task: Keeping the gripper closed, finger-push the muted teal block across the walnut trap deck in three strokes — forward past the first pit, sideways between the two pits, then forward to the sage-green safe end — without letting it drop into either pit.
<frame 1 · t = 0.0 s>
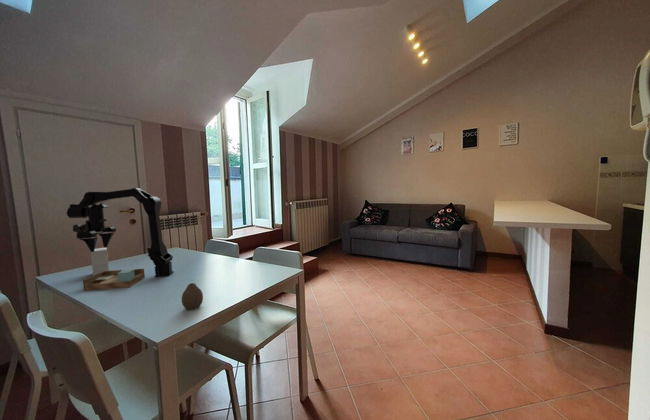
hand: (99, 249, 127), 15 cm above the table, tool pointing down, fingers open, 9 cm apart
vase: (193, 308, 95), on the table
small box: (101, 274, 136), on the table
trap deck: (116, 283, 121), on the table
block: (126, 279, 119), point 2 cm above the table, touching trap deck
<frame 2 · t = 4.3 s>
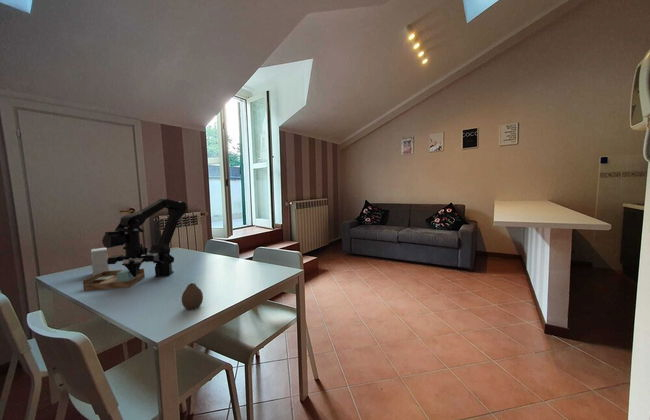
hand: (135, 276, 119), 4 cm above the table, tool pointing down, fingers closed
block: (125, 279, 119), point 3 cm above the table, touching gripper
everything else where it was.
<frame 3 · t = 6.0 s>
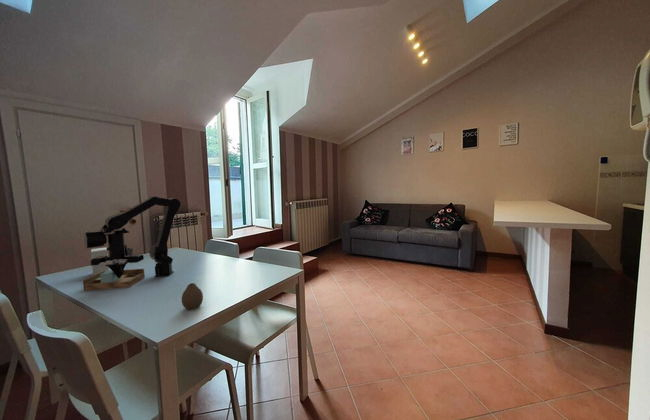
hand: (119, 277, 118), 4 cm above the table, tool pointing down, fingers closed
block: (109, 280, 118), point 2 cm above the table, touching gripper, trap deck
everything else where it was.
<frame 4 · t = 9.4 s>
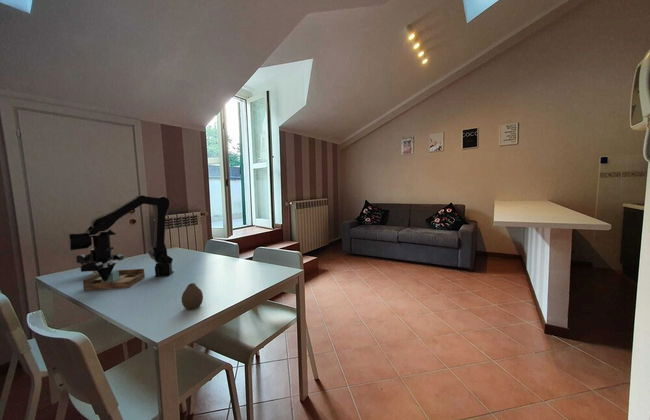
hand: (105, 281, 115), 3 cm above the table, tool pointing down, fingers closed
block: (110, 280, 119), point 3 cm above the table, touching gripper
everything else where it was.
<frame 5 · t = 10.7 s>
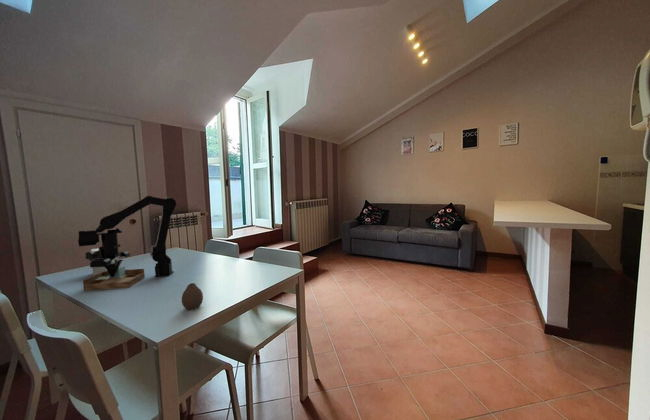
hand: (112, 276, 120), 4 cm above the table, tool pointing down, fingers closed
block: (117, 276, 124), point 2 cm above the table, touching gripper, trap deck
everything else where it was.
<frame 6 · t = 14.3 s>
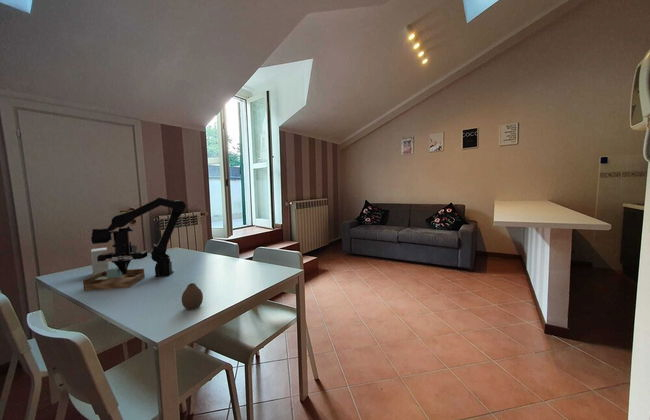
hand: (124, 273, 124), 4 cm above the table, tool pointing down, fingers closed
block: (115, 276, 124), point 3 cm above the table, touching gripper
everything else where it was.
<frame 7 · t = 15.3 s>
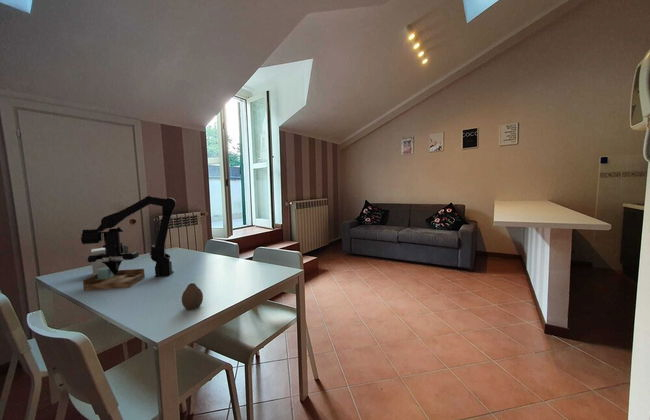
hand: (115, 274, 124), 4 cm above the table, tool pointing down, fingers closed
block: (106, 277, 123), point 2 cm above the table, touching gripper, trap deck
everything else where it was.
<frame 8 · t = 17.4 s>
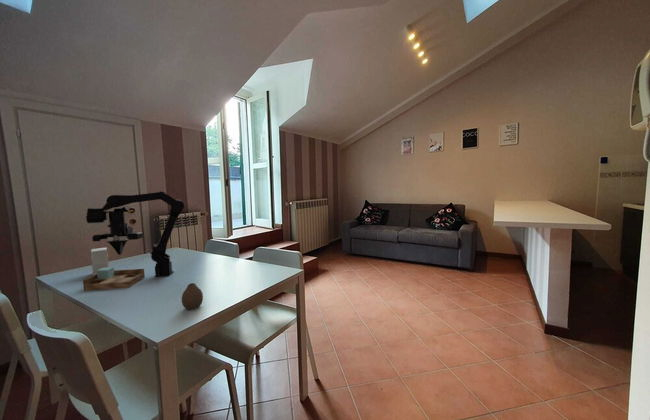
hand: (120, 254, 123), 13 cm above the table, tool pointing down, fingers closed
block: (106, 277, 123), point 2 cm above the table, touching trap deck
everything else where it was.
at the end: block 0.3 cm from the target spot on the trap deck, point 2.5 cm above the trap deck's base; block tilted 0° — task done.
